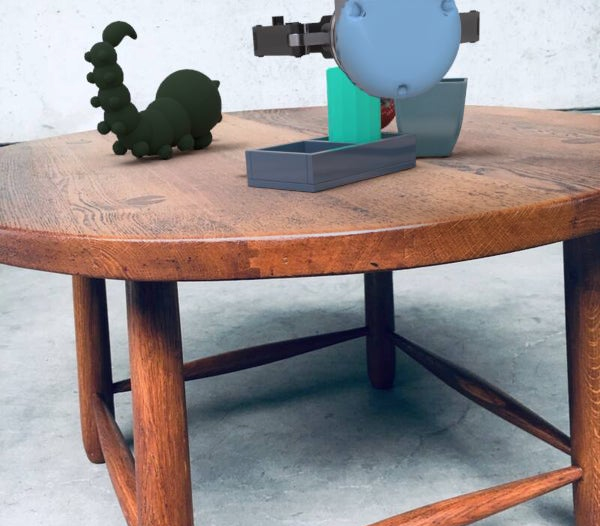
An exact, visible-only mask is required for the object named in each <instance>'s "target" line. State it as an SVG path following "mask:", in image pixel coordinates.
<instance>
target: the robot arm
mask: <svg viewBox="0 0 600 526" xmlns="http://www.w3.org/2000/svg"><path fill="white" fill-rule="evenodd" d="M333 1H334V2H333V3H334V10H333V12H332V14H327V15H325V14H324V15H322V16H321V18H320V20H319V21H318V22H304V23H302V22H300V21H293V22H285V17H284V15H274V16H271V25H262V24H255V25H253V26H252V28H251V30H252V43H253V44H252V45H253V55H254V57H257V58H264V57H294V58H295V59H301V58H302V57H304V56H309V55H311V54H321V55H322V58H324V59H325V60H334V62H335V64H336V65H337V67H339V68H340V69H341V70H342V71H343V72H344V73H345V74H346V76H347V78H348V79H349V80H350V81H351V83H352V84H354V85H355V86H357V87H358V88H359V89H360V90H361V91H364V92H365V93H367V94H368V95H370V96H373V97H376V98H379V99H384V98H393V99H404V98H409V97H413V96H417V95H419V94H422V93H424V92H426V91H428V90H429V89H431V88H432V87H434V86H435V85H436V84H437V83H438V82H440V81H441V79H442V78H445V76H446V75H447V74H448V72H449V71H450V70H451V68H452V66H453V64H454V62H455V61H456V58H457V56H458V53H459V49H460V45H461V44H462V45H463V44H467V43H469V44H476V43H477V42H480V36H481V35H480V29H481V26H480V25H481V24H480V23H481V11H479V10H476V9H472V10H469V11H467V12H465V11H464V12H459V9H458V7H457V4H456V0H333Z"/></svg>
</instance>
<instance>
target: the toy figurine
mask: <svg viewBox="0 0 600 526" xmlns="http://www.w3.org/2000/svg"><path fill="white" fill-rule="evenodd" d="M125 37H129V38H130V39H132V40H134V41H135V40H138V34H137V31H136V30H135V28H134V26H132V25H131V24H130V23H128V22H127V21H122V20H116V21H113V22H110V23H108V24H107V25H106V26H105V27H104V29H103V30H102V34H101V39H102V41H98V42H96V43H94V44H93V45H92V46H91V48H90V50H88V51H86V52H85V53H84V55H83V58H84V61H85V62H86V63H90V64H91V65H92V66H93V69H92V71H89V72H88V73H87V74H86V81H87V83H89V84H92V85H94V84H95V86H96V87H97V88H98V91H97V95H94V96H92V97H91V98H90V100H89V103H90V105H91V106H92V108H94V109H98V108H101V110H103V120H101V121H99V122H98V123H97V125H96V131H97V132H98V133H99V134H100V135H102V136H106V135H108V134H109V133H110V132H111V133H112V134H114V135H115V136H116V138H117V139H116V140H115V141H114V142H113V143H112V145H111V146H112V147H111V149H112V151H113V153H114V154H115V155H116V156H125V155H126V154H127V153H128V152H129V151H130V153H131V155H132V156H133V157H135V158H137V159H142V158H143V157H146V156H147V157H155V156H158V157H159V158H161V159H163V160H168V159H169V158H172V156H173V153H174V150H173V148H177V150H178V151H180V152H191V150H192V149H193V150H201V149H206V148H208V147H209V146H210V145H211V144H212V142H213V138H214V137H213V134H212V132H211V130H213V129H214V128H215V127H216V126H217V125H218V124H219V123H222V121H223V114H222V111H223V109H222V107H223V104H222V103H223V102H222V96H221V94H220V91H219V88H220V85H221V81H220V80H219V79H211V78H210V77H209V76H208V75H207V74H205V73H204V72H202V71H199V70H195V69H193V68H192V69H191V68H184V69H183V68H182V69H178V70H175V71H173V72H172V73H169V74H168V75H167V76H166V77H165V78H164V79H163V80H162V81H161V82H160V84H159V86H158V88H157V90H156V93H155V97H154V100H153V101H151V102H150V103H148V105H147V107H146V108H145V109H143V110H138V107H137V106H136V105H135V104H134V103H133V102H132V96H131V92H130V90H129V88H128V87H127V85H126V84H125V83H124V81H125V75H124V74H125V73H124V70H123V68H122V67H121V65H120V64H119V63H118V53H117V51H116V47H117V48H118V46H120V44H121V43H122V41H123V40H124V38H125Z"/></svg>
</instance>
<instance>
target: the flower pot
mask: <svg viewBox="0 0 600 526" xmlns="http://www.w3.org/2000/svg"><path fill="white" fill-rule="evenodd" d="M468 80H469V79H468V77H443V78H442V79H441V81H440V82H438V83H437V84H436V85H435V86H434V87H432V88H431V89H429V90H428V91H426V92H424V93H422V94H419V95H417V96H413V97H409V98H404V99H394V105H395V123H396V128H397V133H415V134H416V158H419V157H441V158H447V157H450V156H451V154H452V153H453V150H454V149H455V147H456V145H457V143H458V140H459V137H460V134H461V130H462V126H463V121H464V114H465V107H466V106H465V105H466V97H467V89H468Z"/></svg>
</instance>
